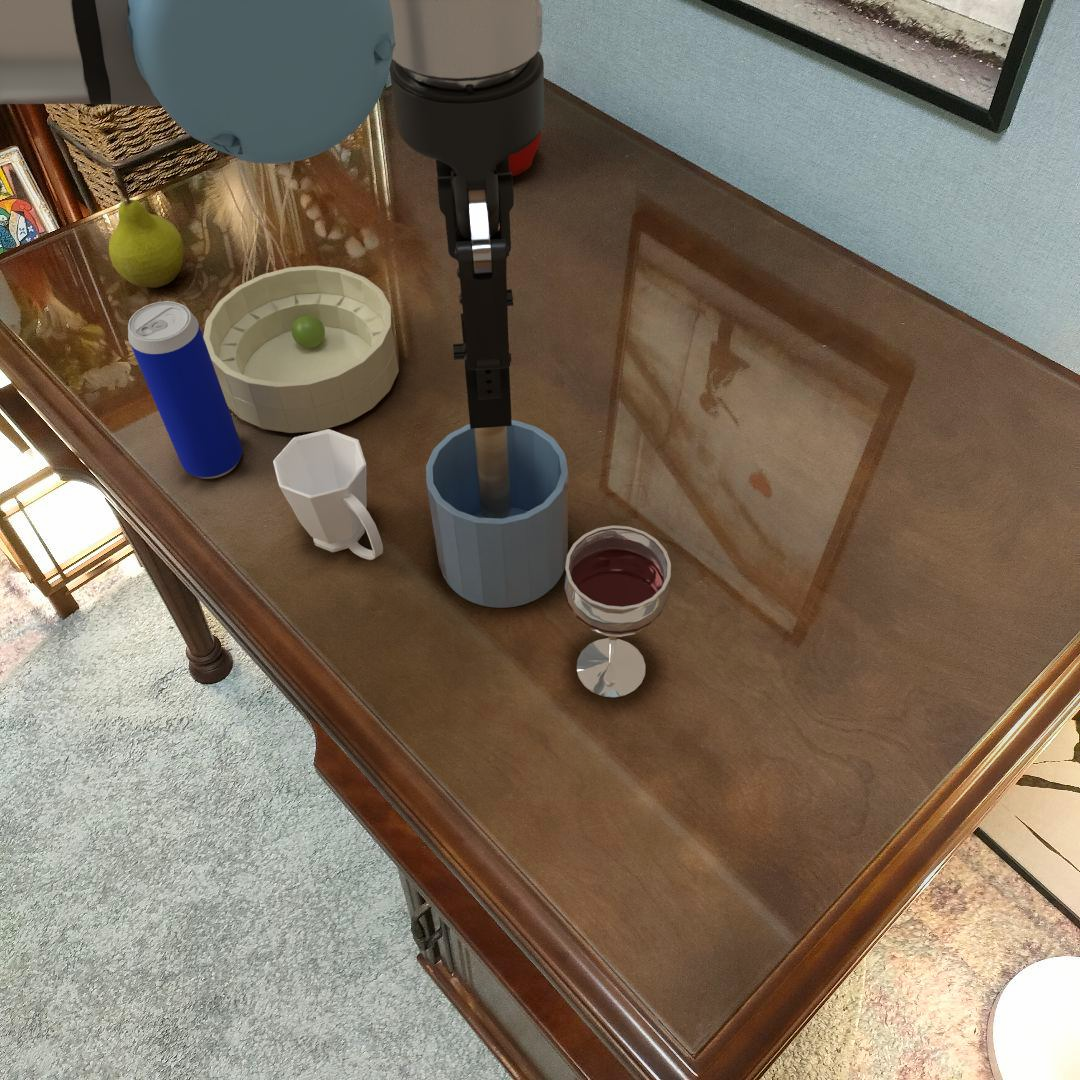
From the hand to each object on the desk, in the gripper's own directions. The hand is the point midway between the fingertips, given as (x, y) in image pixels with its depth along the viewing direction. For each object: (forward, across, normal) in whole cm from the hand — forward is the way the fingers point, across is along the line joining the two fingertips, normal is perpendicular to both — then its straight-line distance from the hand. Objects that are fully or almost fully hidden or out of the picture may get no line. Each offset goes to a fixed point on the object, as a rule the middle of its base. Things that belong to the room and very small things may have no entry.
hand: (489, 407), depth 67 cm
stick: (+11, 0, 0) cm, 11 cm away
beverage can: (+16, +13, +24) cm, 32 cm away
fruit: (+16, +39, +32) cm, 53 cm away
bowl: (+16, +23, +16) cm, 32 cm away
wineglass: (+16, -11, -7) cm, 21 cm away
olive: (+14, +27, +16) cm, 34 cm away
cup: (+16, +3, +12) cm, 20 cm away
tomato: (+16, +56, -3) cm, 58 cm away
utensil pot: (+16, 0, 0) cm, 16 cm away
